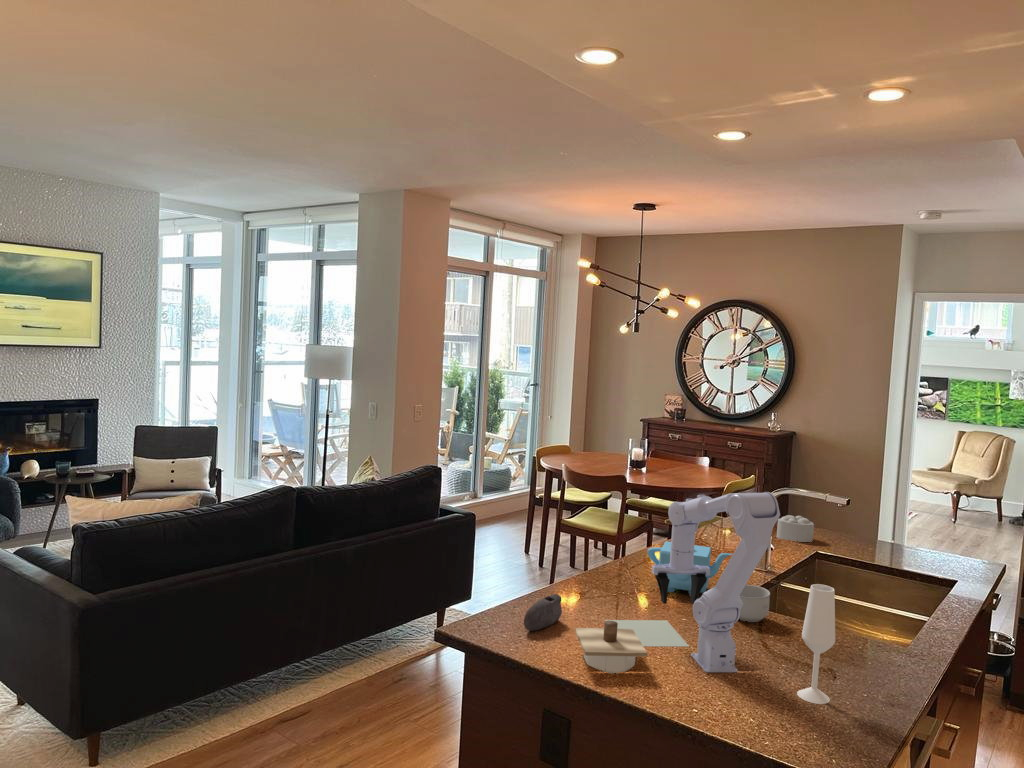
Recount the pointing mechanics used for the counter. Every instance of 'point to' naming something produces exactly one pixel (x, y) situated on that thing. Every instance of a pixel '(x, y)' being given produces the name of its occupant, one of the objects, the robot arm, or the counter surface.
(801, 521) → the lumpy-topped squat cylinder
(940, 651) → the counter surface
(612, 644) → the cover
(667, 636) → the mat
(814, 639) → the champagne flute
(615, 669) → the bowl
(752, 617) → the teacup
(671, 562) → the robot arm
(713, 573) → the teakettle
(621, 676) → the counter surface
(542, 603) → the perforated stone tool
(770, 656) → the counter surface
